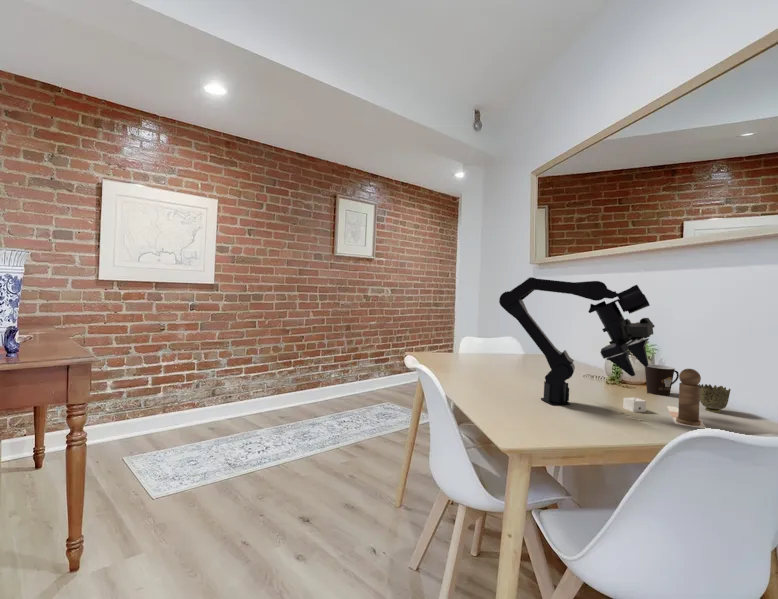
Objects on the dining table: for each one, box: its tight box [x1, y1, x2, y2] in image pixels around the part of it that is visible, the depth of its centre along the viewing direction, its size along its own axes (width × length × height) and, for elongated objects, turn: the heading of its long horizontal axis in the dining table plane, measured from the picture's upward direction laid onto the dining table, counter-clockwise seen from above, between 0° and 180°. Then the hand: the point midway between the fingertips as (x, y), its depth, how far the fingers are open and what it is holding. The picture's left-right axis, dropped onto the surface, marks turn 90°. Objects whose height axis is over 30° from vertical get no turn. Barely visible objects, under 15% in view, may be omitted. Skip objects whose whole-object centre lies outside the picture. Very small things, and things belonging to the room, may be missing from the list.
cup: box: [698, 383, 731, 413], centre depth 124 cm, size 8×7×8 cm
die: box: [622, 397, 647, 413], centre depth 121 cm, size 4×4×4 cm
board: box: [666, 405, 707, 429], centre depth 117 cm, size 21×8×1 cm, turn 151°
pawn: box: [676, 368, 702, 426], centre depth 110 cm, size 5×5×14 cm
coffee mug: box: [644, 363, 680, 397], centre depth 144 cm, size 12×9×10 cm
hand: (640, 370), depth 120 cm, fingers open, 9 cm apart
